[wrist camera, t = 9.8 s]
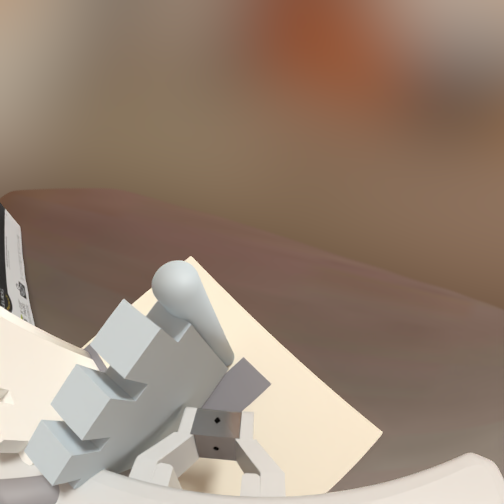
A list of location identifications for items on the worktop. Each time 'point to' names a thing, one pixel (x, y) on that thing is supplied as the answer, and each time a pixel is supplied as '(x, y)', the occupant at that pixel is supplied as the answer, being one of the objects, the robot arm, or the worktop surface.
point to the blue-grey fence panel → (135, 382)
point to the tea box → (13, 269)
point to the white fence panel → (31, 397)
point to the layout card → (272, 407)
